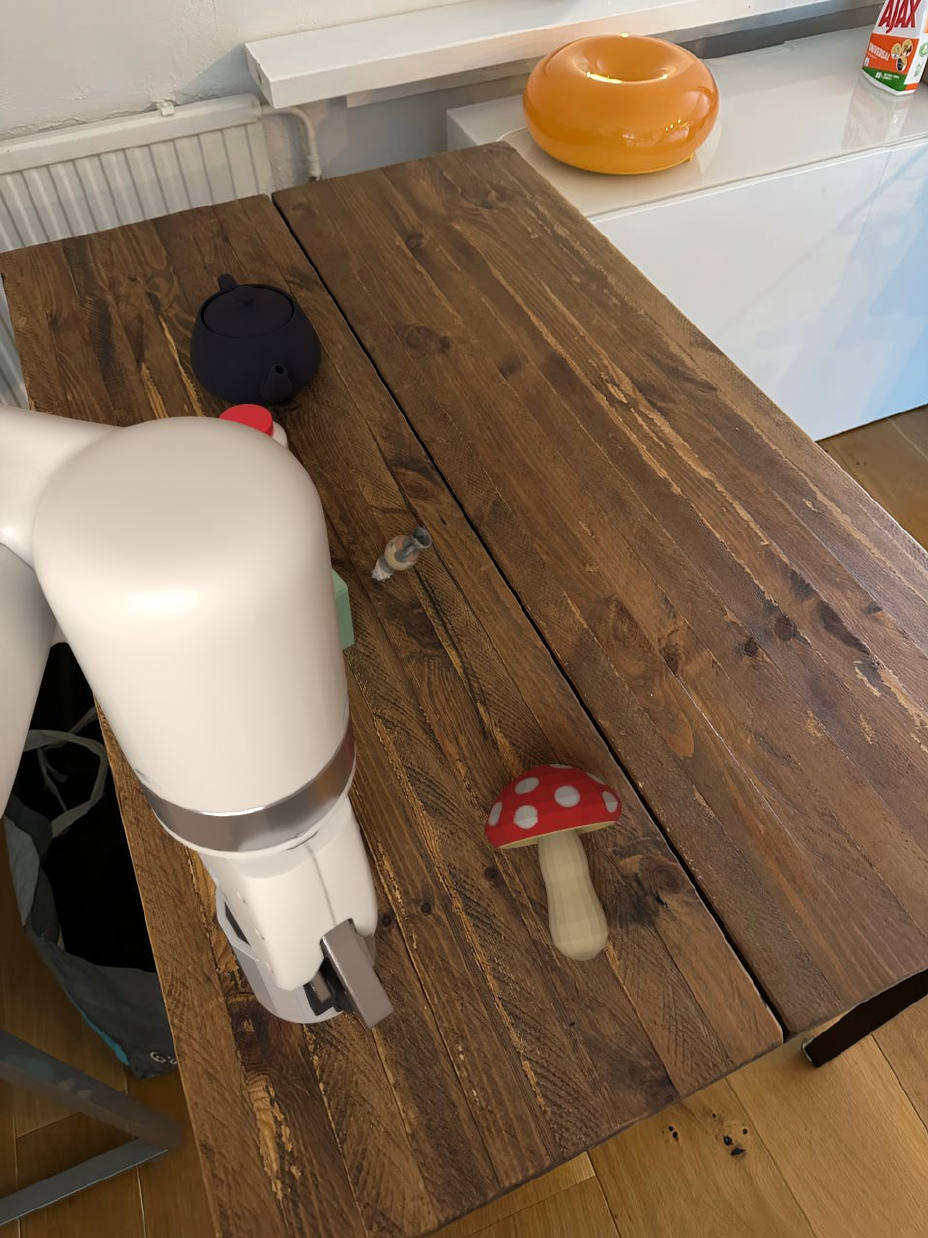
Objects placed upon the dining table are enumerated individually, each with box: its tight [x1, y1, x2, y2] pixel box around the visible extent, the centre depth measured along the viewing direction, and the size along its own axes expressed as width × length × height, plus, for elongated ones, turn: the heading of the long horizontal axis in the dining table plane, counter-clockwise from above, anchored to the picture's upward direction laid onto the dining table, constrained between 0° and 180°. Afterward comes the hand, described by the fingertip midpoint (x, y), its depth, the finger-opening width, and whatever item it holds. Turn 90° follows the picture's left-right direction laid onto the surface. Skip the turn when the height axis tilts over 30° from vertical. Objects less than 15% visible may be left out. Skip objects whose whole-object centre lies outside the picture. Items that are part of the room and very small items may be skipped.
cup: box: [214, 886, 377, 1024], centre depth 47 cm, size 7×7×9 cm
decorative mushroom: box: [484, 763, 623, 962], centre depth 74 cm, size 11×11×15 cm
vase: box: [370, 526, 433, 582], centre depth 95 cm, size 5×5×6 cm
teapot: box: [189, 273, 322, 407], centre depth 112 cm, size 25×16×12 cm, turn 25°
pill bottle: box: [218, 404, 290, 451], centre depth 100 cm, size 8×8×11 cm
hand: (302, 928), depth 47 cm, fingers closed on cup, 6 cm apart
